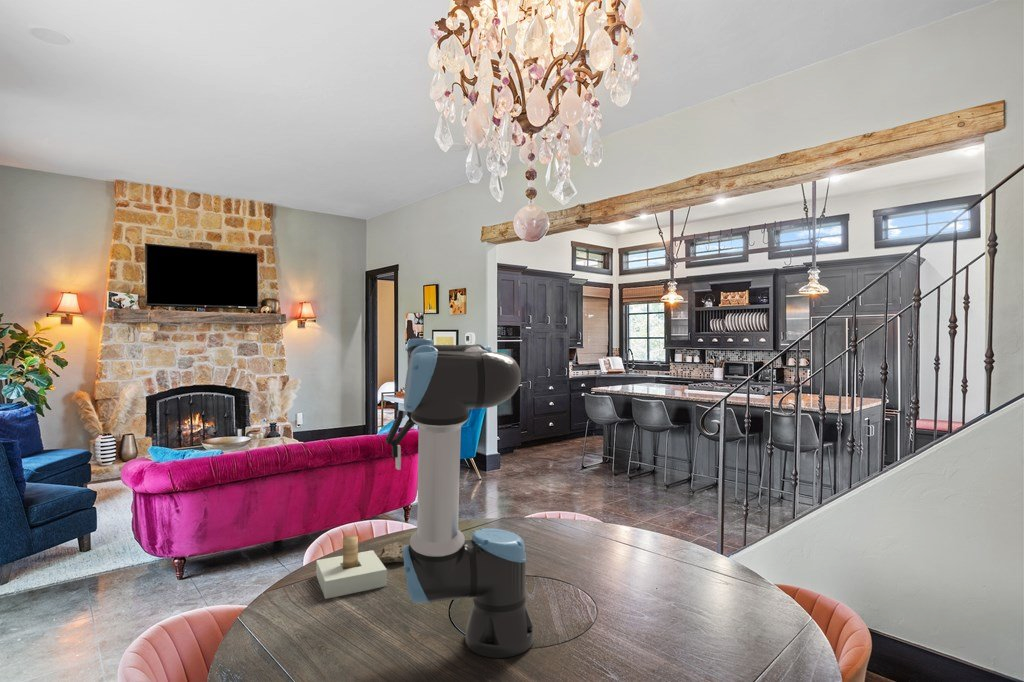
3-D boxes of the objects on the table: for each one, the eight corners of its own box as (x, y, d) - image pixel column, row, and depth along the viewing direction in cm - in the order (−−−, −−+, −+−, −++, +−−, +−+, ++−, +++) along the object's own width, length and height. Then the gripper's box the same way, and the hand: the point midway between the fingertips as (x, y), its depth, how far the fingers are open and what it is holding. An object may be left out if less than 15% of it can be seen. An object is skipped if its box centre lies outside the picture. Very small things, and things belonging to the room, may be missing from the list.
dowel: (359, 582, 151) (359, 538, 151) (344, 585, 149) (344, 541, 149) (356, 576, 154) (356, 534, 154) (341, 579, 152) (341, 536, 152)
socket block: (386, 585, 148) (386, 569, 148) (325, 598, 141) (325, 581, 141) (372, 565, 162) (372, 550, 162) (316, 576, 155) (316, 560, 155)
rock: (413, 567, 161) (413, 553, 161) (375, 567, 161) (375, 552, 161) (420, 554, 171) (420, 540, 172) (385, 554, 172) (385, 540, 172)
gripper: (456, 389, 166) (457, 459, 165) (374, 393, 154) (374, 468, 154) (466, 391, 159) (466, 464, 159) (380, 395, 147) (381, 473, 147)
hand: (421, 466), depth 156 cm, fingers open, 13 cm apart
